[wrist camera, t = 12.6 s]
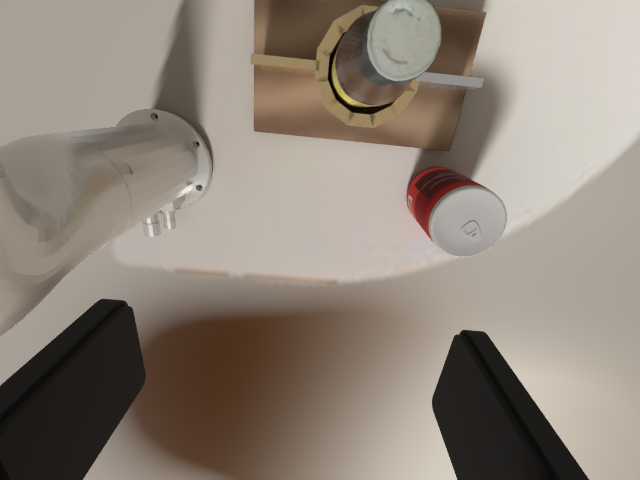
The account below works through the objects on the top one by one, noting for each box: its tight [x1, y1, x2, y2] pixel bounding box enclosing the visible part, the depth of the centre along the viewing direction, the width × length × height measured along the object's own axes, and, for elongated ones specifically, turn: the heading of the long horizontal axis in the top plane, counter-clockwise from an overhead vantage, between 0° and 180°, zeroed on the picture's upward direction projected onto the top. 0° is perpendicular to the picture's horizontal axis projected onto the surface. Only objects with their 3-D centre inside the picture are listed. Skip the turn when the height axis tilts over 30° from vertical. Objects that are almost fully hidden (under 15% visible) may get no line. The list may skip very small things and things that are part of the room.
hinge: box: [251, 5, 484, 128], centre depth 31 cm, size 10×22×6 cm, turn 85°
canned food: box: [407, 167, 507, 258], centre depth 36 cm, size 8×8×11 cm
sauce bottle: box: [330, 0, 442, 107], centre depth 25 cm, size 6×6×20 cm
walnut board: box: [254, 0, 486, 151], centre depth 35 cm, size 14×24×2 cm, turn 85°
